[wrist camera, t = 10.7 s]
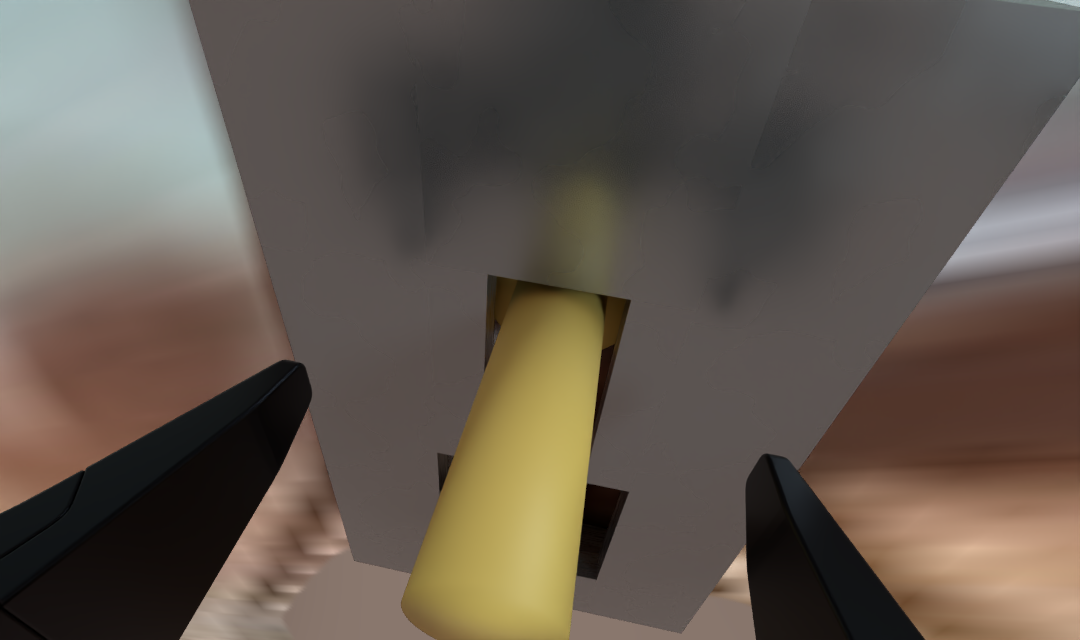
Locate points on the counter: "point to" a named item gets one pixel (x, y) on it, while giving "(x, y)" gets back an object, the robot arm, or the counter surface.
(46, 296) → the counter surface
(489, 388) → the headed peg
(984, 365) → the counter surface
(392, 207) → the keyhole plate
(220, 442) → the robot arm
